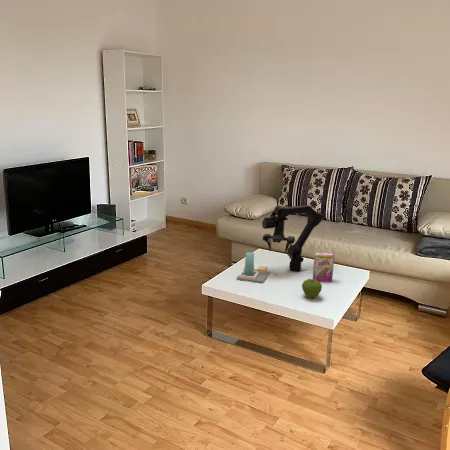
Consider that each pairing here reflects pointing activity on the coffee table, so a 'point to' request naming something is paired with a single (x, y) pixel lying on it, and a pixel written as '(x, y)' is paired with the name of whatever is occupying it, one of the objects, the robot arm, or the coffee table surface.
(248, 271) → the teal column
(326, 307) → the coffee table surface
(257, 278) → the base board
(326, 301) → the coffee table surface
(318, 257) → the candy bar box
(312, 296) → the apple
